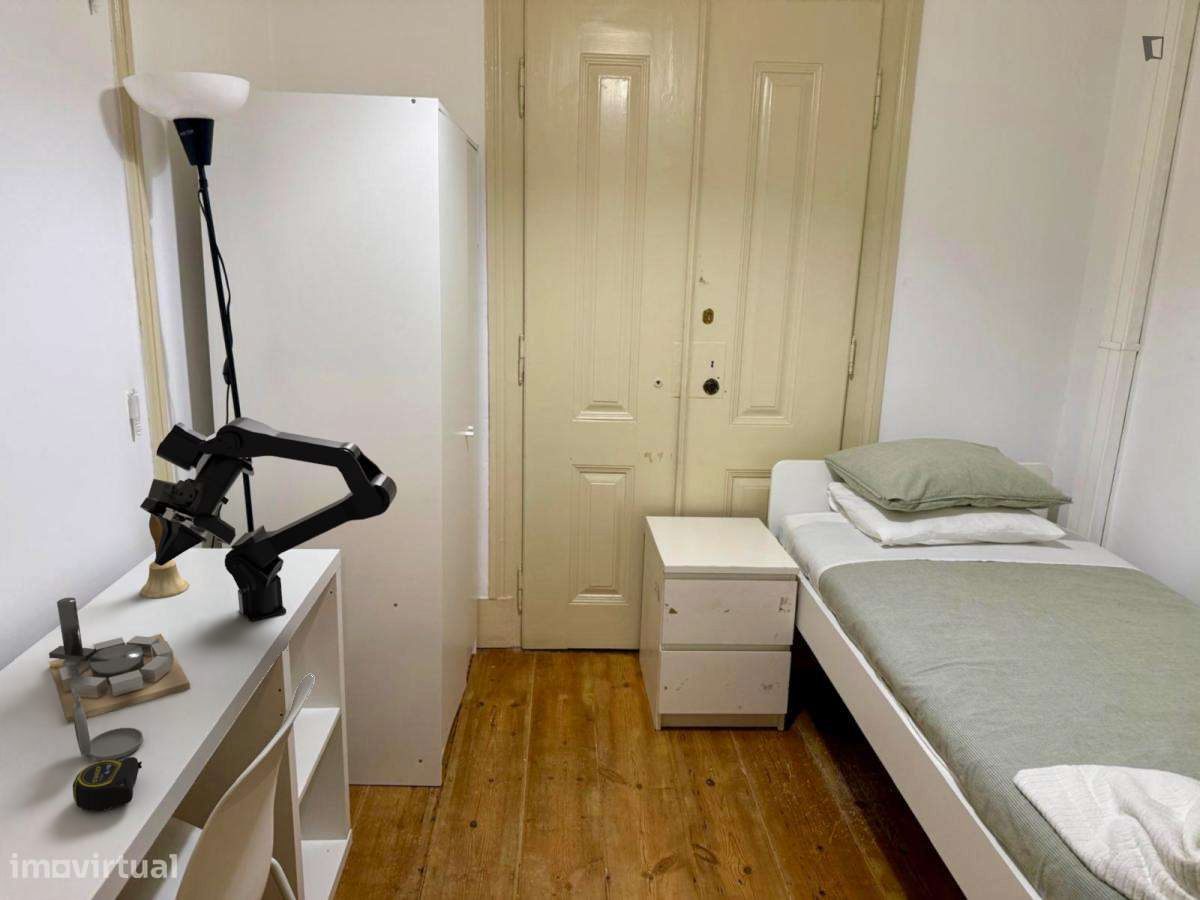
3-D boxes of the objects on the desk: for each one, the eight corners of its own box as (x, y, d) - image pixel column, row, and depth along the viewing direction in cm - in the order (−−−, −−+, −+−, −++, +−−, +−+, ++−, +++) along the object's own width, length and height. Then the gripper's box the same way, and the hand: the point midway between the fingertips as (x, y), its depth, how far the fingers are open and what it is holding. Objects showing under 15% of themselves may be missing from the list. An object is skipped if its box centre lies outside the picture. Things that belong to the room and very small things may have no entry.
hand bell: (175, 599, 159) (166, 518, 154) (131, 597, 159) (121, 516, 154) (197, 581, 167) (189, 503, 162) (155, 579, 167) (145, 502, 162)
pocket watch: (154, 739, 117) (146, 674, 114) (101, 776, 109) (91, 706, 106) (109, 727, 119) (100, 662, 117) (54, 761, 112) (43, 693, 109)
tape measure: (133, 812, 103) (129, 785, 102) (68, 822, 101) (64, 795, 100) (143, 777, 109) (140, 752, 108) (83, 786, 107) (79, 760, 106)
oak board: (161, 639, 144) (160, 632, 143) (190, 688, 129) (189, 680, 129) (48, 667, 134) (47, 660, 134) (66, 723, 120) (64, 715, 119)
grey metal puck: (139, 657, 136) (137, 640, 135) (148, 675, 131) (146, 658, 130) (88, 670, 132) (86, 652, 131) (96, 690, 126) (94, 671, 126)
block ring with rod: (89, 643, 139) (80, 579, 136) (191, 651, 137) (184, 587, 134) (20, 691, 125) (8, 621, 122) (132, 701, 123) (123, 631, 120)
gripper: (144, 450, 145) (86, 529, 139) (212, 469, 135) (153, 555, 129) (192, 483, 153) (139, 559, 147) (259, 503, 144) (205, 585, 138)
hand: (157, 564), depth 140 cm, fingers closed
